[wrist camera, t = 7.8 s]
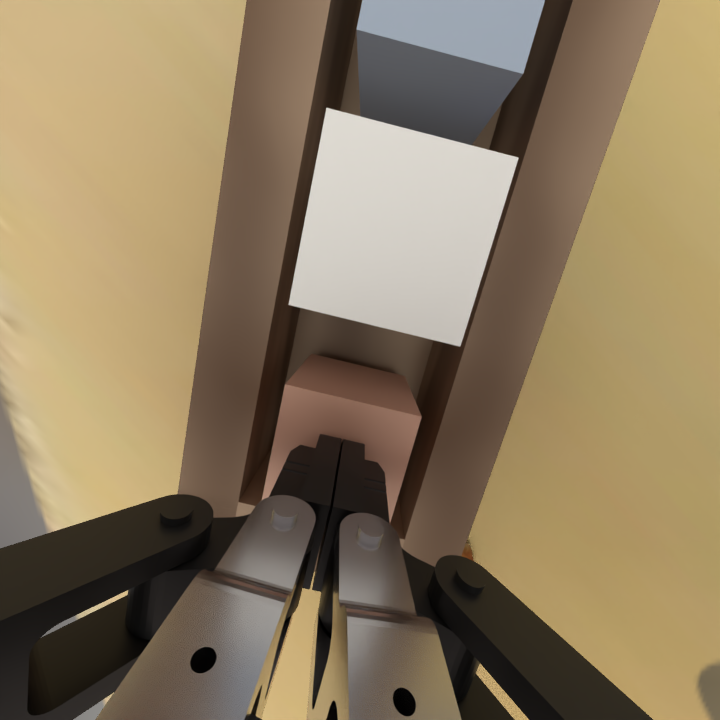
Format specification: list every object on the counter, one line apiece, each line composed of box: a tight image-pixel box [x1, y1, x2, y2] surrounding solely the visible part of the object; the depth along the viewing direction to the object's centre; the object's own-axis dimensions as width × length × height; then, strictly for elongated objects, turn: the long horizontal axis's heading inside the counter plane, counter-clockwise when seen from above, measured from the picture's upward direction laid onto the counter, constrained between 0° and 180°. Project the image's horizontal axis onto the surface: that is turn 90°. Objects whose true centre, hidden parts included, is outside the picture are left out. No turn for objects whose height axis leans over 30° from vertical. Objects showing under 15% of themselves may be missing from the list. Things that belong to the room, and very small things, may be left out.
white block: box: [288, 108, 519, 346], centre depth 10 cm, size 4×4×5 cm
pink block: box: [262, 354, 422, 522], centre depth 14 cm, size 4×4×5 cm
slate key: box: [357, 0, 545, 145], centre depth 11 cm, size 4×4×5 cm
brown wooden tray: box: [178, 0, 660, 571], centre depth 14 cm, size 12×26×6 cm, turn 166°
